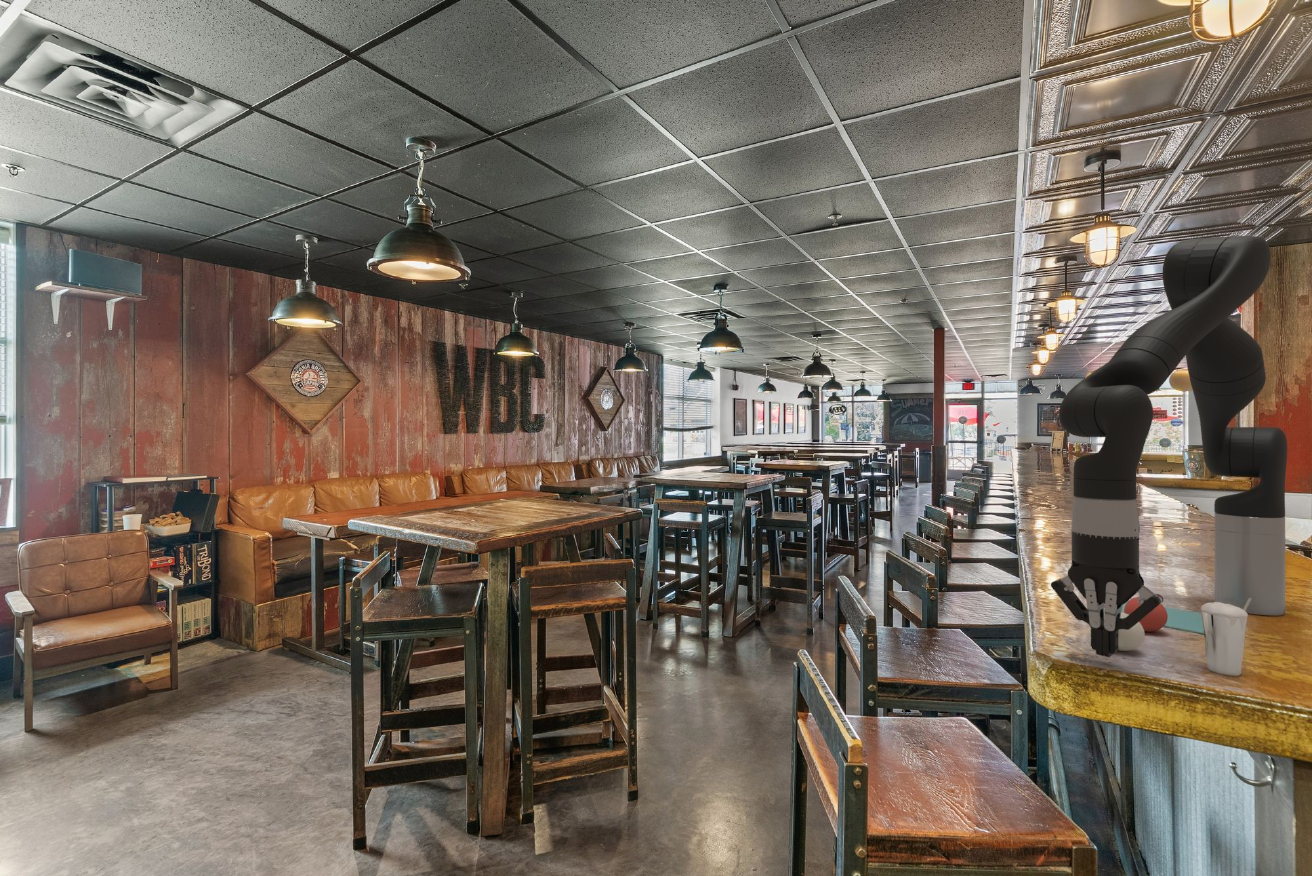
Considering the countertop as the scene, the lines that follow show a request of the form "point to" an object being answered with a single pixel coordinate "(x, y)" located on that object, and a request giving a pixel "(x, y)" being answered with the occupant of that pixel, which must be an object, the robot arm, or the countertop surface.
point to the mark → (1182, 620)
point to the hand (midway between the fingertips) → (1104, 654)
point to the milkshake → (1224, 636)
